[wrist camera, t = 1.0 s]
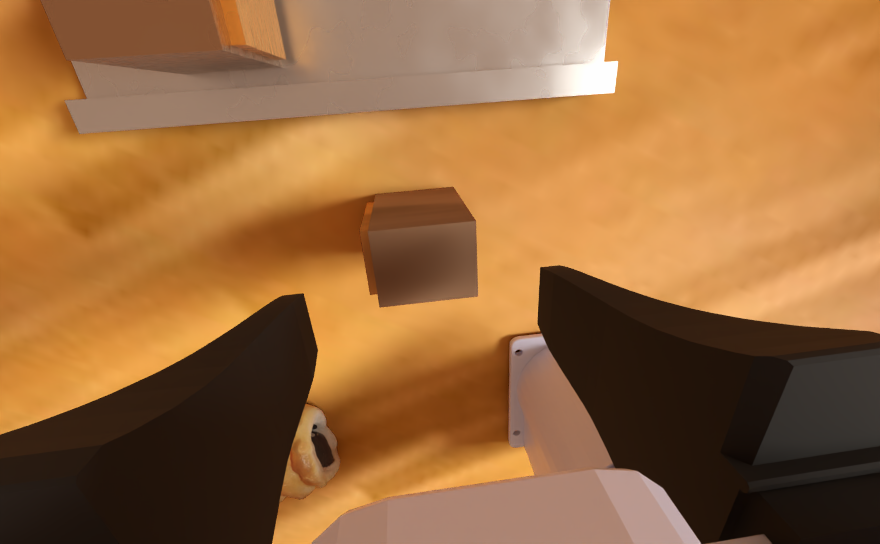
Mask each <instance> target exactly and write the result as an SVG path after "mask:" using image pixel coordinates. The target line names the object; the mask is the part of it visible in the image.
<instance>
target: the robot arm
mask: <svg viewBox="0 0 880 544" xmlns="http://www.w3.org/2000/svg"><path fill="white" fill-rule="evenodd" d="M538 326H539V328H540V331H541V333H542V334H533V335H525V336H517V337H514V338H513V339H512V340H511V341H510V355H509V429H508V441H509V444H510V446H511V447H523V446H524V447H525V450H526V453H527V455H528V458H529V461H530V463H531V466H532V469H533V472H534V474H535V475H534V476H527V477H521V478H514V479H507V480H500V481H494V482H487V483H480V484H474V485H467V486H460V487H454V488H447V489H440V490H433V491H427V492H420V493H413V494H407V495H400V496H393V497H388V498H385V499H382V500H379V501H376V502H373V503H370V504H367V505H364V506H361V507H358V508H355V509H352V510H349V511H347V512H346V513H344V514H343V515H341V516H340V517H339V518H338V519H337V520H336V521H335V522H333V523H332V524H331V525H330V526H329V527H328V528H327V529H326V530H325V531H324V532H323V533H322V534H321V535H320V536H319V537H317V538H316V539H315V540H314V541H313V542H312V544H880V334H878V333H875V332H870V331H858V330H844V329H831V328H817V327H804V326H794V325H786V324H778V323H770V322H762V321H755V320H748V319H742V318H736V317H730V316H725V315H720V314H715V313H709V312H704V311H700V310H695V309H691V308H687V307H683V306H679V305H675V304H671V303H668V302H664V301H660V300H657V299H654V298H650V297H647V296H644V295H641V294H638V293H635V292H632V291H629V290H627V289H624V288H621V287H618V286H616V285H613V284H611V283H608V282H605V281H603V280H600V279H598V278H595V277H593V276H590V275H587V274H585V273H582V272H580V271H577V270H574V269H571V268H568V267H565V266H560V265H559V266H549V267H540V285H539V305H538ZM518 349H521V350H520V351H519V352H515V351H516V350H518ZM317 352H318V349H317V345H316V341H315V337H314V333H313V329H312V325H311V321H310V317H309V313H308V309H307V305H306V301H305V298H304V294H293V295H284V296H281V297H279V298H277V299H275V300H274V301H272V302H270V303H269V304H267V305H266V306H264V307H263V308H262V309H260V310H259V311H257V312H256V313H254V314H253V315H251V316H250V317H249V318H247V319H246V320H244V321H243V322H241V323H240V324H238V325H237V326H236V327H234V328H233V329H231V330H229V331H228V332H226V333H225V334H223V335H222V336H220V337H219V338H217V339H215V340H214V341H212V342H211V343H209V344H208V345H206V346H204V347H203V348H201V349H200V350H198V351H196V352H194V353H193V354H191V355H189V356H187V357H186V358H184V359H182V360H180V361H178V362H176V363H175V364H173V365H171V366H169V367H167V368H165V369H163V370H161V371H159V372H157V373H155V374H153V375H151V376H149V377H147V378H145V379H142V380H140V381H138V382H136V383H134V384H131V385H129V386H127V387H125V388H123V389H121V390H118V391H116V392H114V393H112V394H110V395H107V396H105V397H102V398H100V399H97V400H95V401H92V402H90V403H88V404H85V405H83V406H80V407H78V408H75V409H72V410H70V411H67V412H64V413H62V414H59V415H56V416H54V417H51V418H48V419H45V420H43V421H40V422H37V423H34V424H31V425H29V426H26V427H22V428H19V429H16V430H13V431H10V432H7V433H4V434H1V435H0V544H272V540H273V535H274V529H275V524H276V518H277V513H278V507H279V502H280V496H281V491H282V487H283V482H284V477H285V472H286V467H287V462H288V459H289V455H290V451H291V448H292V444H293V441H294V438H295V435H296V432H297V429H298V426H299V423H300V419H301V416H302V413H303V410H304V407H305V404H306V401H307V398H308V394H309V391H310V388H311V385H312V381H313V378H314V372H315V366H316V359H317ZM516 430H517V431H516Z"/></svg>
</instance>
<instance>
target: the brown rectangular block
mask: <svg viewBox="0 0 880 544" xmlns="http://www.w3.org/2000/svg"><path fill="white" fill-rule="evenodd" d="M359 232H360V238H361V244H362V250H363V255H364V261H365V267H366V273H367V279H368V285H369V291H370V295H373V294H378V300H379V307H388V306H397V305H406V304H415V303H424V302H433V301H441V300H450V299H459V298H468V297H477V296H478V278H477V242H476V220H475V219H474V217H473V216H472V214H471V213H470V211H469V210H468V208H467V207H466V205H465V204H464V202H463V201H462V199H461V198H460V196H459V195H458V193H457V192H456V190H455V189H454V187H448V188H437V189H426V190H415V191H405V192H394V193H383V194H376V195H375V200H374V202H369V203H367V205H366V209H365V213H364V216H363V220H362V223H361V227H360V231H359Z"/></svg>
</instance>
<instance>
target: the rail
mask: <svg viewBox="0 0 880 544" xmlns="http://www.w3.org/2000/svg"><path fill="white" fill-rule="evenodd" d="M41 3H42V5H43V7H44V9H45V12H46V14H47V16H48V19H49V21H50V23H51V26H52V28H53V30H54V33H55V35H56V37H57V40H58V42H59V44H60V47H61V49H62V51H63V54H64V56H65V58H66V60H70V61H71V62H72V64H73V67H74V69H75V72H76V74H77V76H78V79H79V81H80V83H81V86H82V88H83V90H84V93H85V95H86V97H87V99H79V100H64V101H65V103H66V105H67V107H68V110H69V112H70V114H71V116H72V118H73V121H74V123H75V125H76V127H77V130H78V132H79V134H85V133H97V132H110V131H123V130H136V129H149V128H162V127H175V126H188V125H201V124H214V123H227V122H240V121H253V120H266V119H279V118H292V117H305V116H318V115H331V114H344V113H357V112H370V111H383V110H396V109H409V108H422V107H435V106H448V105H461V104H473V103H486V102H499V101H512V100H525V99H538V98H551V97H564V96H577V95H590V94H603V93H614V90H615V82H616V73H617V65H618V61H613V62H604V55H605V45H606V36H607V26H608V16H609V7H610V0H41Z"/></svg>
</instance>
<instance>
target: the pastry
mask: <svg viewBox="0 0 880 544" xmlns="http://www.w3.org/2000/svg"><path fill="white" fill-rule="evenodd" d="M336 447H337V440H336V437H335V435H334V434H333V433H332V431H331V430H330V429H329V428H328V427H327V426H326V417H325V415H324V414H323V412H322V410H321V409H319V408H317V407H315V406H312V405H309V404H305V407H304V410H303V413H302V416H301V419H300V423H299V426H298V429H297V432H296V435H295V438H294V441H293V444H292V448H291V451H290V455H289V459H288V462H287V467H286V472H285V477H284V482H283V487H282V491H281V496H280V502H281V501H282V500H284V498H285V497H290V498H296V499H304V498H305V497H306V496H308V495H309V494H310V493H311V492H312V491H313V490H314V489H315V487H324V486H326V484H327V482H328V481H329V480H331V479H332V478H333V477H334V476H335V473H336V472H337V471H338V470H339V466H340V458H339V455H338V452H337V448H336ZM280 502H279V503H280Z"/></svg>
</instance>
